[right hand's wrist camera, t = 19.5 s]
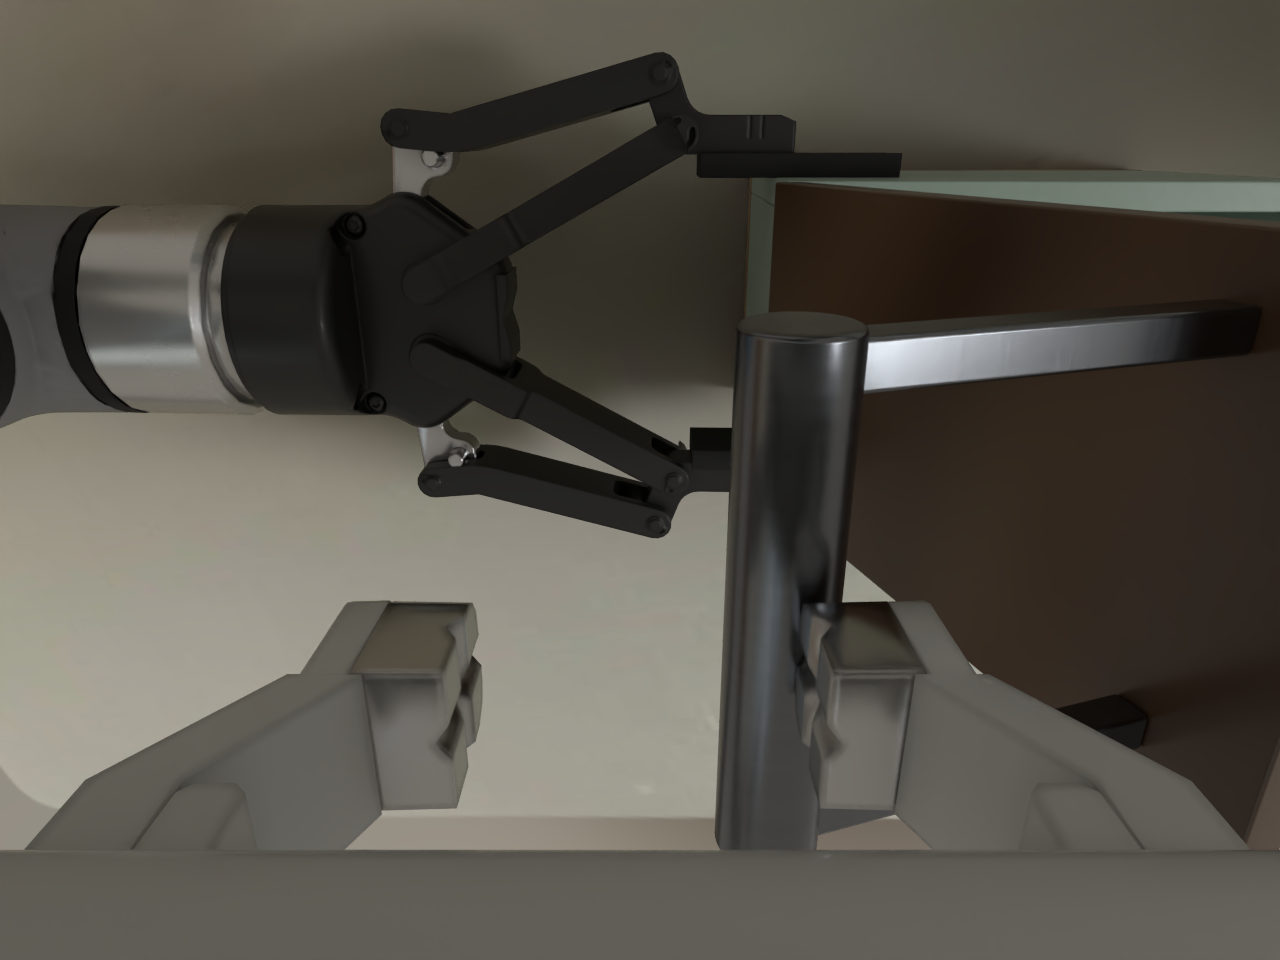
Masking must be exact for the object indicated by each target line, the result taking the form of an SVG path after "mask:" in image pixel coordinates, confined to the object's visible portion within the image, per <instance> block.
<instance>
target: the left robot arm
mask: <svg viewBox="0 0 1280 960" xmlns="http://www.w3.org/2000/svg"><path fill="white" fill-rule="evenodd" d="M647 102H650V105H651V109H652V112H653V115H654V118H655V121H656V124H657V125H656V126H655V127H653V128H651V129H650V130H648V131H646V132H644V133H643V134H641V135H639V136H638V137H636V138H634V139H633V140H631V141H629V142H627V143H626V144H624V145H622V146H621V147H619V148H617V149H616V150H614V151H612V152H610V153H609V154H607V155H605V156H604V157H602V158H600V159H599V160H597V161H595V162H593V163H592V164H590V165H588V166H587V167H585V168H583V169H582V170H580V171H578V172H576V173H575V174H573V175H571V176H570V177H568V178H566V179H564V180H563V181H561V182H559V183H558V184H556V185H554V186H553V187H551V188H549V189H547V190H546V191H544V192H542V193H541V194H539V195H537V196H536V197H534V198H532V199H530V200H529V201H527V202H525V203H524V204H522V205H520V206H519V207H517V208H515V209H513V210H512V211H510V212H508V213H506V214H505V215H503V216H501V217H499V218H497V219H496V220H494V221H492V222H491V223H489V224H487V225H485V226H484V227H482V228H480V229H479V230H477V229H475V228H474V227H473V226H471V225H470V224H469V223H467V222H466V221H464V220H463V219H462V218H460V217H459V216H457V215H456V214H455V213H453V212H452V211H451V210H449V209H448V208H446V207H445V206H444V205H442V204H441V203H440V202H438V201H437V200H435V199H434V198H433V197H431V196H430V195H428V192H429V187H430V184H431V182H432V181H433V180H434V179H435V178H437V177H439V176H444V175H449V174H451V173H452V172H454V170H455V169H456V168H457V166H458V163H459V152H468V151H479V150H483V149H488V148H492V147H495V146H499V145H502V144H506V143H509V142H513V141H516V140H519V139H523V138H526V137H530V136H533V135H537V134H540V133H544V132H547V131H551V130H554V129H558V128H561V127H564V126H568V125H571V124H575V123H578V122H582V121H585V120H589V119H592V118H596V117H599V116H602V115H606V114H609V113H613V112H616V111H620V110H623V109H627V108H630V107H634V106H637V105H641V104H644V103H647ZM380 127H381V132H382V135H383V137H384V139H385V140H386V142H388V143H389V144H390V145H391V146H392V158H393V193H392V194H390V195H388V196H386V197H385V198H383V199H382V200H380V201H378V202H377V203H374V204H372V205H261V206H258V207H255V208H254V209H252V210H250V211H249V212H248V211H246V210H244V209H242V208H240V207H238V206H236V205H122V206H103V207H67V206H31V205H0V428H2V427H4V426H7V425H9V424H11V423H14V422H16V421H19V420H21V419H23V418H26V417H30V416H34V415H39V414H45V413H56V412H139V413H148V412H153V413H210V414H255V413H257V412H260V411H262V410H264V409H265V408H266V409H267V410H269V411H271V412H273V413H276V414H306V415H389V416H393V417H396V418H399V419H401V420H403V421H405V422H407V423H409V424H411V425H413V426H416V427H417V429H418V434H419V439H420V444H421V449H422V454H423V460H424V465H425V467H424V469H423V470H422V472H421V473H420V475H419V477H418V486H419V488H420V490H421V491H422V492H423V493H424V494H426V495H428V496H430V497H447V496H461V495H475V494H480V495H484V496H488V497H492V498H496V499H500V500H504V501H508V502H512V503H516V504H520V505H524V506H528V507H531V508H535V509H539V510H543V511H547V512H551V513H555V514H559V515H563V516H567V517H571V518H575V519H579V520H583V521H587V522H591V523H595V524H599V525H603V526H607V527H611V528H615V529H619V530H623V531H627V532H631V533H634V534H638V535H642V536H646V537H650V538H660V537H663V536H665V535H666V534H667V533H668V532H669V530H670V528H671V521H672V518H673V516H674V514H675V511H676V509H677V506H678V504H679V502H680V501H681V499H682V498H683V497H684V496H685V495H687V494H689V493H692V492H698V491H703V492H729V485H730V461H731V438H732V428H692V427H690V450H687V449H686V447H685V445H684V444H683V443H682V442H681V441H679V443H678V444H679V446H678V445H676V444H674V443H672V442H670V441H668V440H666V439H664V438H663V437H661V436H659V435H657V434H655V433H653V432H651V431H649V430H647V429H645V428H644V427H642V426H640V425H638V424H636V423H634V422H632V421H630V420H628V419H627V418H625V417H623V416H621V415H619V414H617V413H615V412H613V411H611V410H610V409H608V408H606V407H604V406H602V405H600V404H598V403H596V402H594V401H593V400H591V399H589V398H587V397H585V396H583V395H581V394H579V393H577V392H575V391H574V390H572V389H570V388H568V387H566V386H564V385H562V384H560V383H558V382H557V381H555V380H553V379H551V378H549V377H547V376H545V375H544V374H543V373H542V372H541V371H540V370H539V369H538V368H537V367H535V366H534V365H532V364H530V363H528V362H527V361H525V360H523V359H521V358H519V357H517V353H518V352H519V351H520V332H519V327H518V324H517V321H516V318H515V314H514V311H513V305H514V300H515V295H516V291H517V275H516V267H512V264H511V262H510V259H509V258H508V256H509V255H511V254H513V253H514V252H516V251H518V250H519V249H521V248H523V247H524V246H526V245H528V244H529V243H531V242H533V241H535V240H536V239H538V238H540V237H542V236H543V235H545V234H547V233H549V232H550V231H552V230H554V229H555V228H557V227H559V226H561V225H562V224H564V223H566V222H568V221H569V220H571V219H573V218H575V217H576V216H578V215H580V214H582V213H583V212H585V211H587V210H588V209H590V208H592V207H594V206H595V205H597V204H599V203H601V202H602V201H604V200H606V199H608V198H609V197H611V196H613V195H615V194H616V193H618V192H620V191H622V190H623V189H625V188H627V187H628V186H630V185H632V184H634V183H635V182H637V181H639V180H641V179H642V178H644V177H646V176H648V175H649V174H651V173H653V172H655V171H656V170H658V169H660V168H662V167H663V166H665V165H667V164H668V163H670V162H672V161H674V160H675V159H677V158H679V157H681V156H682V155H684V154H697V176H698V177H699V178H899V177H900V168H901V159H902V153H794V146H795V131H796V121H794V120H791V119H789V118H787V117H785V116H782V115H707V114H702V113H700V112H698V111H697V110H695V109H694V108H693V107H692V105H691V104H690V102H689V100H688V98H687V95H686V92H685V89H684V85H683V82H682V79H681V76H680V73H679V67H678V65H677V63H676V60H675V59H674V58H673V57H672V56H671V55H669V54H666V53H664V52H659V53H653V54H650V55H646V56H643V57H639V58H636V59H633V60H629V61H626V62H623V63H619V64H616V65H612V66H609V67H606V68H602V69H599V70H596V71H592V72H589V73H585V74H582V75H579V76H575V77H572V78H568V79H565V80H562V81H558V82H555V83H552V84H548V85H545V86H541V87H538V88H535V89H531V90H528V91H525V92H521V93H518V94H514V95H511V96H508V97H504V98H501V99H498V100H494V101H491V102H487V103H484V104H481V105H477V106H474V107H471V108H467V109H464V110H460V111H457V112H454V113H450V114H449V113H439V112H429V111H419V110H409V109H399V108H398V109H391V110H389V111H388V112H386V113H385V115H384V116H383V118H382V120H381V126H380ZM472 401H476V402H478V403H480V404H482V405H484V406H486V407H488V408H490V409H492V410H494V411H496V412H498V413H500V414H501V415H503V416H506V417H508V418H512V419H521V420H523V421H525V422H527V423H529V424H531V425H533V426H535V427H537V428H539V429H541V430H543V431H545V432H547V433H549V434H551V435H552V436H554V437H556V438H558V439H560V440H562V441H564V442H566V443H568V444H570V445H572V446H574V447H576V448H578V449H580V450H582V451H583V452H585V453H587V454H589V455H591V456H593V457H595V458H597V459H599V460H601V461H603V462H605V463H607V464H609V465H611V466H613V467H614V468H616V469H618V470H620V471H622V472H624V473H626V474H628V475H630V476H632V477H634V478H636V479H638V480H640V481H642V482H639V481H635V480H632V479H628V478H624V477H620V476H616V475H612V474H608V473H604V472H601V471H597V470H593V469H589V468H585V467H581V466H577V465H573V464H569V463H566V462H562V461H558V460H554V459H550V458H546V457H542V456H538V455H534V454H531V453H527V452H523V451H519V450H515V449H511V448H507V447H502V446H497V445H480V444H479V441H478V440H477V438H476V437H475V436H474V435H472V434H470V433H466V432H460V431H458V430H456V429H455V428H453V427H452V425H451V424H450V423H449V420H448V419H449V418H450V417H452V416H453V415H454V414H456V413H457V412H459V411H460V410H461V409H463V408H464V407H465V406H467V405H468V404H469V403H471V402H472Z"/></svg>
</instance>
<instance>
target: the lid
mask: <svg viewBox="0 0 1280 960" xmlns="http://www.w3.org/2000/svg"><path fill="white" fill-rule="evenodd" d="M846 560H847V561H848V562H849V563H851V564H852V565H853V566H854V567H855V568H857V569H858V570H859V571H860V572H861V573H863V574H864V575H865V576H866V577H867V578H869V579H870V580H871V581H872V582H873V583H875V584H876V585H877V586H878V587H879V588H881V589H882V590H883V591H884V592H885V593H887V594H888V595H889V596H890V597H892V598H893V599H894V600H895V601H918V600H924V601H926V602H928V603H930V604H931V606H932V607H933V609H934V610H935V612H936V613H937V615H938V616H939V618H940V619H941V621H942V622H943V624H944V625H945V627H946V628H947V630H948V632H949V633H950V635H951V636H952V638H953V639H954V641H955V642H956V644H957V645H958V647H959V648H960V650H961V651H962V653H963V655H964V656H965V658H966V659H967V661H968V662H970V663H971V664H972V665H973V666H974V667H976V668H977V669H978V670H979V671H980V672H982V673H983V674H990V675H991V676H993V677H995V678H997V679H999V680H1001V681H1003V682H1005V683H1007V684H1008V685H1010V686H1012V687H1014V688H1016V689H1018V690H1020V691H1022V692H1024V693H1026V694H1027V695H1029V696H1031V697H1033V698H1035V699H1037V700H1039V701H1041V702H1043V703H1044V704H1046V705H1048V706H1050V707H1052V708H1054V709H1056V710H1058V711H1060V712H1062V713H1063V714H1065V715H1067V716H1069V717H1071V718H1073V719H1075V720H1077V721H1079V722H1080V723H1082V724H1084V725H1086V726H1088V727H1090V728H1092V729H1094V730H1096V731H1098V732H1099V733H1101V734H1103V735H1105V736H1107V737H1109V738H1111V739H1113V740H1115V741H1116V742H1118V743H1120V744H1122V745H1124V746H1126V747H1128V748H1130V749H1132V750H1133V751H1135V752H1137V753H1139V754H1141V755H1143V756H1145V757H1147V758H1149V759H1151V760H1152V761H1154V762H1156V763H1158V764H1160V765H1162V766H1164V767H1166V768H1168V769H1169V770H1171V771H1173V772H1175V773H1177V774H1179V775H1181V776H1183V777H1185V778H1187V779H1188V780H1190V781H1192V782H1193V783H1194V785H1195V786H1196V787H1197V788H1198V789H1199V790H1200V791H1201V793H1202V794H1203V795H1204V796H1205V797H1206V798H1207V800H1208V801H1209V802H1210V803H1211V804H1212V805H1213V806H1214V808H1215V809H1216V810H1217V811H1218V812H1219V813H1220V815H1221V816H1222V817H1223V818H1224V819H1225V820H1226V821H1227V823H1228V824H1229V825H1230V826H1231V827H1232V828H1233V830H1234V831H1235V832H1236V833H1237V834H1238V835H1239V836H1240V838H1241V839H1242V840H1243V841H1244V842H1245V843H1246V845H1247V846H1248V847H1249V848H1250V849H1251V850H1279V848H1280V222H1276V221H1264V220H1252V219H1240V218H1229V217H1217V216H1205V215H1193V214H1181V213H1169V212H1157V211H1145V210H1133V209H1121V208H1109V207H1097V206H1085V205H1073V204H1061V203H1049V202H1037V201H1025V200H1013V199H1001V198H989V197H978V196H966V195H954V194H942V193H930V192H918V191H906V190H894V189H882V188H870V187H858V186H846V185H834V184H822V183H810V182H777V183H776V186H775V204H774V221H773V239H772V256H771V274H770V292H769V309H768V313H762V314H757V315H753V316H750V317H747V318H744V319H742V320H740V322H739V323H738V325H737V327H736V344H735V367H734V391H733V414H732V438H731V461H730V485H729V508H728V532H727V555H726V579H725V602H724V626H723V649H722V673H721V696H720V720H719V743H718V767H717V790H716V814H715V838H716V841H717V844H718V846H719V848H720V850H816V848H817V839H818V835H821V834H825V833H829V832H832V831H836V830H840V829H843V828H847V827H851V826H855V825H858V824H862V823H866V822H869V821H873V820H877V819H880V818H884V817H888V816H891V815H895V810H861V809H824V808H820V806H819V803H818V799H817V796H816V792H815V789H814V785H813V781H812V778H811V774H810V771H809V755H810V748H809V747H808V746H807V745H806V744H804V743H803V742H802V741H801V738H800V734H799V730H798V725H797V719H796V712H795V672H796V665H797V664H798V663H799V661H800V660H801V659H802V658H803V657H804V656H805V654H804V651H803V647H802V644H801V641H800V638H799V624H800V615H801V610H802V606H803V604H807V603H842V598H843V588H844V578H845V569H846Z"/></svg>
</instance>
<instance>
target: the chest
mask: <svg viewBox="0 0 1280 960" xmlns="http://www.w3.org/2000/svg"><path fill="white" fill-rule="evenodd" d="M777 182H810V183H822V184H834V185H846V186H858V187H870V188H882V189H894V190H906V191H918V192H930V193H942V194H954V195H966V196H978V197H989V198H1001V199H1013V200H1025V201H1037V202H1049V203H1061V204H1073V205H1085V206H1097V207H1109V208H1121V209H1133V210H1145V211H1157V212H1169V213H1181V214H1193V215H1205V216H1217V217H1229V218H1240V219H1252V220H1264V221H1276V222H1280V178H1265V177H1247V176H1230V175H1212V174H1195V173H1177V172H1160V171H1142V170H900V177H899V178H750V181H749V203H748V225H747V247H746V269H745V290H744V312H743V319H744V318H747V317H750V316H753V315H757V314H762V313H768V309H769V292H770V274H771V256H772V239H773V221H774V204H775V186H776V183H777Z"/></svg>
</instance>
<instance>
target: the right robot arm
mask: <svg viewBox="0 0 1280 960" xmlns="http://www.w3.org/2000/svg"><path fill="white" fill-rule="evenodd" d="M478 635H479V634H478V625H477V616H476V610H475V608H474V605H473V603H458V602H405V601H394V602H391V601H353V602H349V603H347V604H346V605H345V606H344V607H343V609H342V610H341V612H340V613H339V615H338V617H337V618H336V620H335V621H334V623H333V624H332V626H331V627H330V629H329V630H328V632H327V633H326V635H325V636H324V638H323V640H322V641H321V643H320V644H319V646H318V647H317V649H316V650H315V652H314V653H313V655H312V656H311V658H310V659H309V661H308V663H307V664H306V666H305V667H304V669H303V670H302V672H301V673H300V674H287V675H285V676H283V677H281V678H279V679H277V680H275V681H273V682H272V683H270V684H268V685H266V686H264V687H262V688H260V689H258V690H256V691H254V692H252V693H251V694H249V695H247V696H245V697H243V698H241V699H239V700H237V701H235V702H233V703H231V704H230V705H228V706H226V707H224V708H222V709H220V710H218V711H216V712H214V713H212V714H210V715H209V716H207V717H205V718H203V719H201V720H199V721H197V722H195V723H193V724H191V725H189V726H187V727H186V728H184V729H182V730H180V731H178V732H176V733H174V734H172V735H170V736H168V737H166V738H165V739H163V740H161V741H159V742H157V743H155V744H153V745H151V746H149V747H147V748H145V749H144V750H142V751H140V752H138V753H136V754H134V755H132V756H130V757H128V758H126V759H124V760H123V761H121V762H119V763H117V764H115V765H113V766H111V767H109V768H107V769H105V770H103V771H102V772H100V773H98V774H96V775H94V776H92V777H90V778H88V779H86V780H85V781H84V782H83V783H82V784H81V786H80V787H79V788H78V789H77V790H76V791H75V792H74V794H73V795H72V796H71V797H70V798H69V799H68V800H67V801H66V803H65V804H64V805H63V806H62V807H61V808H60V809H59V811H58V812H57V813H56V814H55V815H54V816H53V817H52V819H51V820H50V821H49V822H48V823H47V824H46V825H45V826H44V828H43V829H42V830H41V831H40V832H39V833H38V834H37V836H36V837H35V838H34V839H33V840H32V841H31V842H30V843H29V845H28V846H27V847H26V848H25V849H24V850H0V960H1280V850H1251V849H1250V848H1249V847H1248V846H1247V845H1246V843H1245V842H1244V841H1243V840H1242V839H1241V838H1240V836H1239V835H1238V834H1237V833H1236V832H1235V831H1234V830H1233V828H1232V827H1231V826H1230V825H1229V824H1228V823H1227V821H1226V820H1225V819H1224V818H1223V817H1222V816H1221V815H1220V813H1219V812H1218V811H1217V810H1216V809H1215V808H1214V806H1213V805H1212V804H1211V803H1210V802H1209V801H1208V800H1207V798H1206V797H1205V796H1204V795H1203V794H1202V793H1201V791H1200V790H1199V789H1198V788H1197V787H1196V786H1195V785H1194V783H1193V782H1192V781H1190V780H1188V779H1187V778H1185V777H1183V776H1181V775H1179V774H1177V773H1175V772H1173V771H1171V770H1169V769H1168V768H1166V767H1164V766H1162V765H1160V764H1158V763H1156V762H1154V761H1152V760H1151V759H1149V758H1147V757H1145V756H1143V755H1141V754H1139V753H1137V752H1135V751H1133V750H1132V749H1130V748H1128V747H1126V746H1124V745H1122V744H1120V743H1118V742H1116V741H1115V740H1113V739H1111V738H1109V737H1107V736H1105V735H1103V734H1101V733H1099V732H1098V731H1096V730H1094V729H1092V728H1090V727H1088V726H1086V725H1084V724H1082V723H1080V722H1079V721H1077V720H1075V719H1073V718H1071V717H1069V716H1067V715H1065V714H1063V713H1062V712H1060V711H1058V710H1056V709H1054V708H1052V707H1050V706H1048V705H1046V704H1044V703H1043V702H1041V701H1039V700H1037V699H1035V698H1033V697H1031V696H1029V695H1027V694H1026V693H1024V692H1022V691H1020V690H1018V689H1016V688H1014V687H1012V686H1010V685H1008V684H1007V683H1005V682H1003V681H1001V680H999V679H997V678H995V677H993V676H991V675H990V674H976V673H975V671H974V670H973V668H972V667H971V665H970V664H969V662H968V661H967V659H966V658H965V656H964V655H963V653H962V651H961V650H960V648H959V647H958V645H957V644H956V642H955V641H954V639H953V638H952V636H951V635H950V633H949V632H948V630H947V628H946V627H945V625H944V624H943V622H942V621H941V619H940V618H939V616H938V615H937V613H936V612H935V610H934V609H933V607H932V606H931V604H930V603H928V602H926V601H924V600H918V601H895V602H887V601H884V602H843V603H807V604H803V606H802V610H801V615H800V624H799V638H800V641H801V644H802V647H803V651H804V654H805V656H804V657H803V658H802V659H801V660H800V661H799V663H798V664H797V665H796V672H795V712H796V719H797V725H798V730H799V734H800V738H801V741H802V742H803V743H804V744H806V745H807V746H808V747H809V748H810V755H809V771H810V774H811V778H812V781H813V785H814V789H815V792H816V796H817V799H818V803H819V806H820V808H824V809H861V810H895V815H897V816H898V817H899V818H900V819H901V820H902V821H903V822H904V823H905V824H906V825H907V826H908V827H909V828H910V829H911V830H912V831H913V832H914V833H916V834H917V835H918V836H919V837H920V838H921V839H922V840H923V841H924V842H925V843H926V844H927V845H928V846H929V847H930V848H931V849H932V850H344V849H345V848H347V847H348V846H349V845H350V844H351V843H352V842H353V841H354V840H355V839H356V838H357V837H358V836H359V835H360V834H361V833H362V832H364V831H365V830H366V829H367V828H368V827H369V826H370V825H371V824H372V823H373V822H374V821H375V820H376V819H377V818H378V817H379V816H381V815H382V813H381V810H414V809H450V808H457V805H458V802H459V798H460V795H461V791H462V788H463V784H464V781H465V777H466V774H467V770H468V758H467V747H469V746H470V745H471V744H473V743H474V742H475V741H476V737H477V733H478V729H479V725H480V718H481V709H482V670H481V665H480V663H479V662H478V661H477V660H476V659H475V658H474V657H473V656H472V654H473V650H474V647H475V644H476V641H477V638H478Z"/></svg>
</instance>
